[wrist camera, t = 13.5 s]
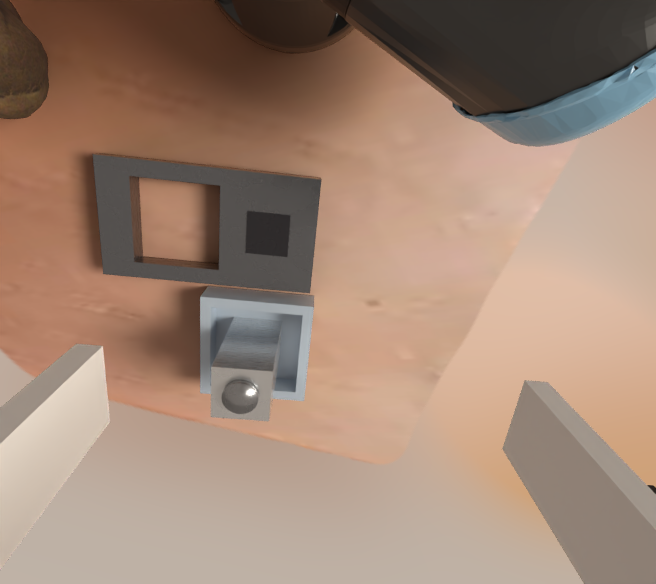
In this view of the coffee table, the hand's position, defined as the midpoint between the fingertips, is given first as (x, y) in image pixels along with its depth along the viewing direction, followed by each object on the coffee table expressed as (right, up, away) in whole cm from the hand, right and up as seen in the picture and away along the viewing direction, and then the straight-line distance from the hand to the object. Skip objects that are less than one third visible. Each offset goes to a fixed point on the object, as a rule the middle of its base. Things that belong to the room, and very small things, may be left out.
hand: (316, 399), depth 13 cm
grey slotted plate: (-11, +10, +27) cm, 30 cm away
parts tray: (-7, -2, +31) cm, 32 cm away
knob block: (-7, -2, +30) cm, 31 cm away
